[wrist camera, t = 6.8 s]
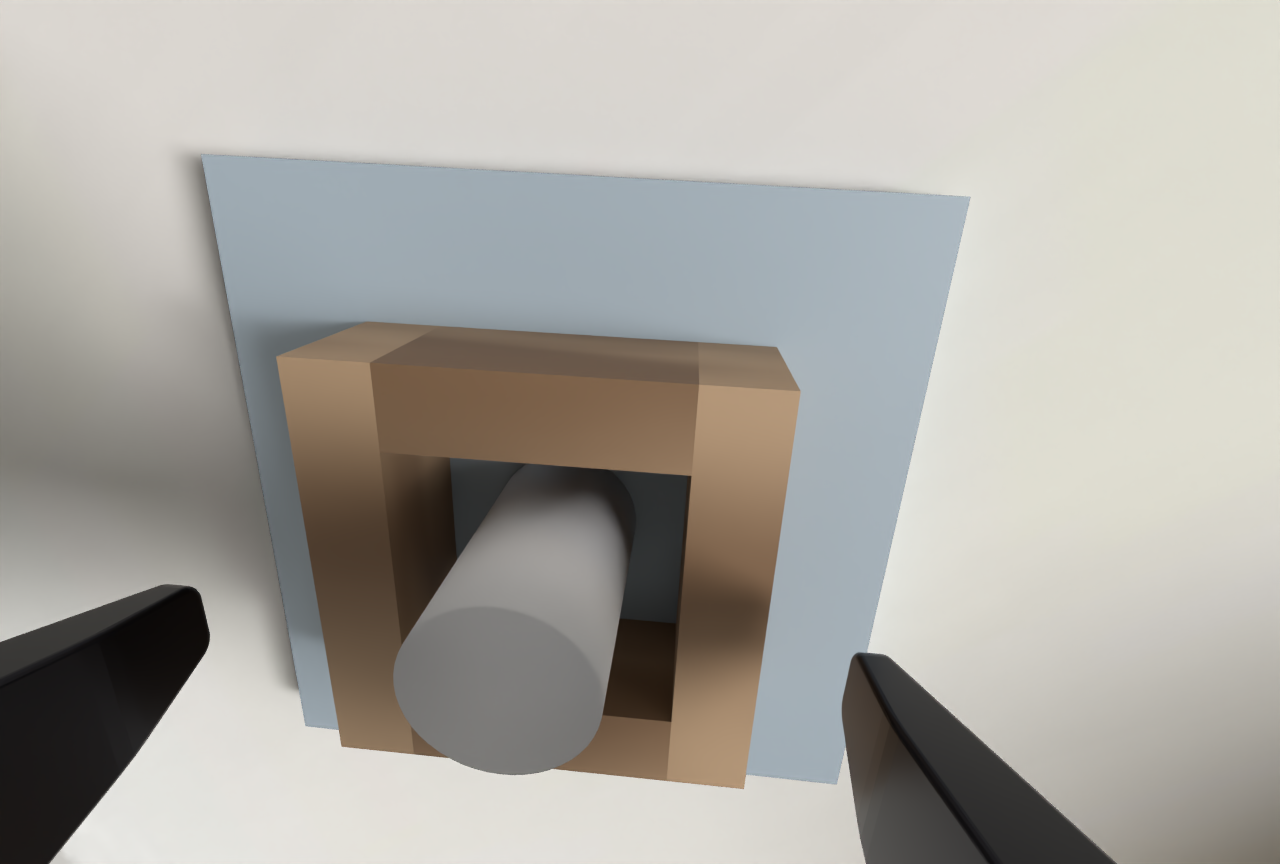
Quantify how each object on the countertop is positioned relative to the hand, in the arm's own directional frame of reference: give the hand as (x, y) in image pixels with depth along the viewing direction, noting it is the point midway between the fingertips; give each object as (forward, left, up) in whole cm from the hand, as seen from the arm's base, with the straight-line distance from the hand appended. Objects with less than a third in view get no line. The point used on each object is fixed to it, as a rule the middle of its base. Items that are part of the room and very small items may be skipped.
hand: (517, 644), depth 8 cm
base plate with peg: (0, 0, -5) cm, 5 cm away
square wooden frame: (0, 0, -4) cm, 4 cm away
